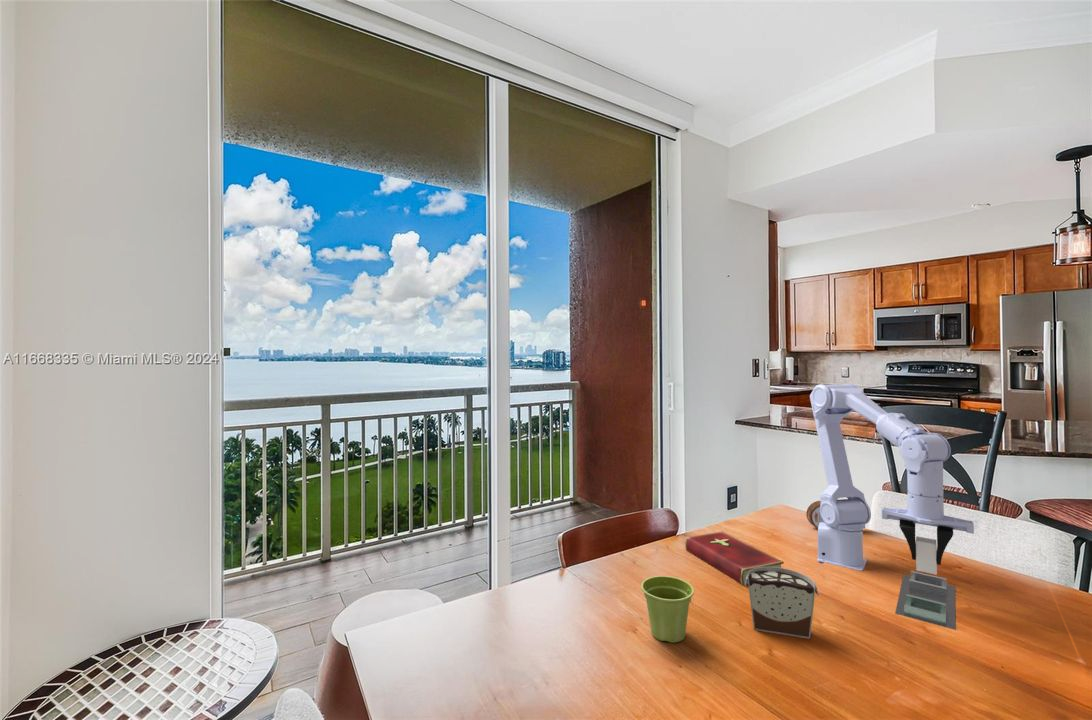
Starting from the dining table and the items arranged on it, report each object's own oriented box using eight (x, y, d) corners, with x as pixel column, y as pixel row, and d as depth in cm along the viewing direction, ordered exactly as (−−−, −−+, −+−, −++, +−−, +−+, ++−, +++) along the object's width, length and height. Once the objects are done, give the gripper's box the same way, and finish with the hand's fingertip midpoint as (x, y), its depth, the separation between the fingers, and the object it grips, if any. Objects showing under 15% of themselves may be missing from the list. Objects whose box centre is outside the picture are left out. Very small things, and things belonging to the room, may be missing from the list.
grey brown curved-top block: (812, 622, 91) (811, 570, 91) (819, 640, 85) (818, 584, 85) (743, 611, 95) (742, 561, 95) (745, 628, 89) (744, 575, 89)
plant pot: (665, 655, 81) (665, 604, 82) (631, 628, 90) (631, 582, 90) (705, 640, 86) (705, 592, 86) (669, 615, 94) (669, 571, 94)
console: (895, 615, 93) (895, 605, 93) (903, 575, 110) (903, 567, 110) (955, 631, 87) (955, 621, 87) (954, 587, 104) (954, 578, 104)
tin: (860, 529, 140) (860, 501, 140) (866, 533, 137) (865, 504, 137) (805, 527, 142) (805, 499, 142) (810, 531, 139) (809, 502, 139)
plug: (916, 570, 97) (915, 540, 97) (917, 564, 99) (916, 535, 99) (936, 574, 94) (936, 544, 94) (936, 568, 97) (936, 539, 97)
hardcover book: (742, 587, 106) (741, 568, 106) (685, 552, 126) (685, 536, 126) (783, 578, 110) (783, 560, 110) (722, 545, 130) (722, 530, 130)
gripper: (879, 491, 98) (880, 557, 98) (974, 504, 89) (975, 577, 89) (883, 484, 104) (884, 547, 103) (972, 496, 94) (973, 564, 94)
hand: (926, 560), depth 96 cm, fingers closed on plug, 3 cm apart
